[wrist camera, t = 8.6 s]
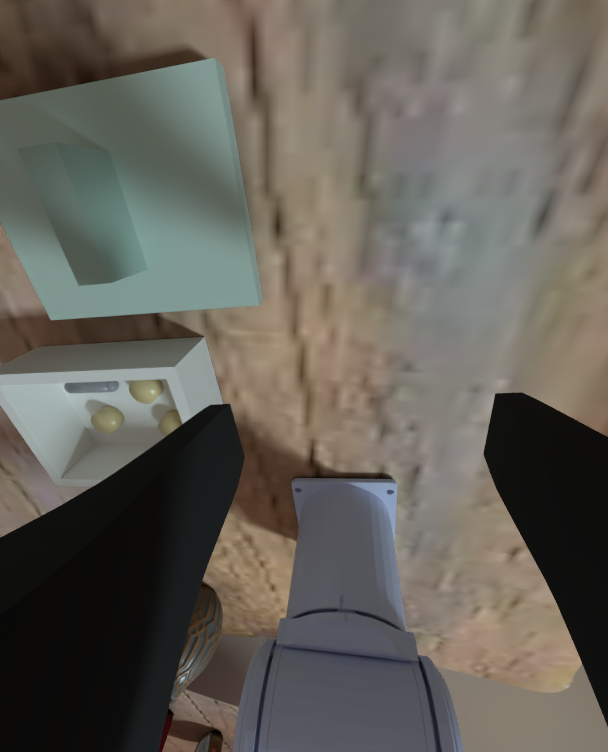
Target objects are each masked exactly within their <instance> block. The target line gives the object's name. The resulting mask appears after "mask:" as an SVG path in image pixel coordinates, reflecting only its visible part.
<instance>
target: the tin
mask: <svg viewBox="0 0 608 752" xmlns="http://www.w3.org/2000/svg"><path fill="white" fill-rule="evenodd" d="M222 744H223V735H220V734H217V733H215V732H209V733H208V734H207V735H205V736H204V737H203V738H201V740H200V741H199V743H198V745H197V747H196V749H195V752H221V750H222Z"/></svg>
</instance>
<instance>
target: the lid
mask: <svg viewBox="0 0 608 752" xmlns="http://www.w3.org/2000/svg"><path fill="white" fill-rule="evenodd" d="M0 223H1V225H2V226H3V228H4V230H5V232H6V234H7V236H8V238H9V240H10V242H11V244H12V246H13V248H14V250H15V252H16V254H17V256H18V257H19V259H20V261H21V263H22V265H23V267H24V269H25V271H26V273H27V275H28V277H29V279H30V281H31V283H32V285H33V287H34V289H35V290H36V292H37V294H38V296H39V298H40V300H41V302H42V304H43V306H44V308H45V310H46V312H47V314H48V316H49V318H50V320H63V319H77V318H91V317H105V316H118V315H132V314H146V313H160V312H174V311H187V310H201V309H215V308H229V307H242V306H256V305H259V304H260V303H261V302H262V301H263V296H262V290H261V285H260V279H259V273H258V267H257V261H256V255H255V249H254V243H253V238H252V232H251V226H250V220H249V214H248V208H247V202H246V196H245V191H244V185H243V179H242V173H241V167H240V161H239V155H238V149H237V144H236V138H235V132H234V126H233V120H232V114H231V108H230V103H229V97H228V91H227V85H226V79H225V73H224V67H223V66H222V65H221V64H220V63H219V62H218V61H217V60H216V59H215V58H211V59H206V60H201V61H196V62H191V63H186V64H181V65H176V66H171V67H166V68H161V69H156V70H151V71H146V72H140V73H135V74H130V75H125V76H120V77H115V78H110V79H105V80H100V81H95V82H90V83H85V84H80V85H75V86H70V87H65V88H60V89H55V90H50V91H45V92H40V93H35V94H30V95H25V96H20V97H14V98H9V99H4V100H0Z"/></svg>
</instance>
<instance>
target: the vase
mask: <svg viewBox="0 0 608 752" xmlns="http://www.w3.org/2000/svg"><path fill="white" fill-rule="evenodd" d="M222 620H223V613H222V606H221V603H220V600H219V598H218V596H217V594H216V593H215V592H214V591H213V590H212V589H210V588H208V587H206V586H203V585H201V586H200V590H199V593H198V597H197V600H196V604H195V607H194V611H193V614H192V618H191V621H190V625H189V628H188V632H187V636H186V640H185V644H184V647H183V651H182V655H181V659H180V663H179V667H178V670H177V674H176V679H175V683H174V687H173V691H172V695H171V700H170V704H172V703H174V702H175V701H176V700H177V698H178V697H179V695H180V694H181V693H182V691H183V690H184V689H185V688H186V687H187V686H188V685H189V684H190V683H191V682H192V681H193V680H194V679H195V678H196V677H197V676H198V675H199V674H200V673H201V672H202V671H203V670H204V668H205V667H206V666H207V664H208V663H209V661H210V659H211V657H212V655H213V653H214V651H215V649H216V647H217V644H218V641H219V637H220V634H221V629H222Z"/></svg>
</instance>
